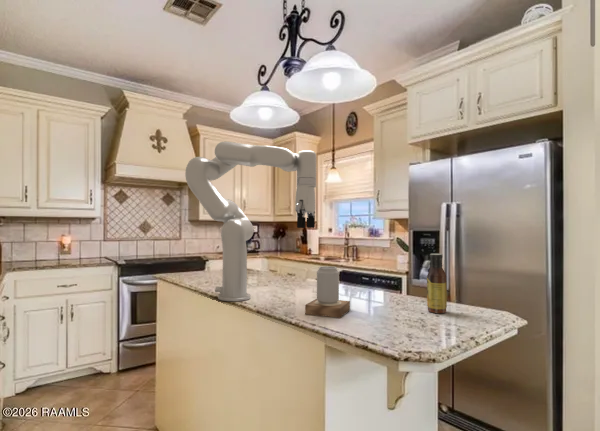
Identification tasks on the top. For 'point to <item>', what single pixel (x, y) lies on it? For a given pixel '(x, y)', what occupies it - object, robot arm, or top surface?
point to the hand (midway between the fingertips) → (306, 227)
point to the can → (327, 285)
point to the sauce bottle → (436, 286)
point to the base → (327, 308)
